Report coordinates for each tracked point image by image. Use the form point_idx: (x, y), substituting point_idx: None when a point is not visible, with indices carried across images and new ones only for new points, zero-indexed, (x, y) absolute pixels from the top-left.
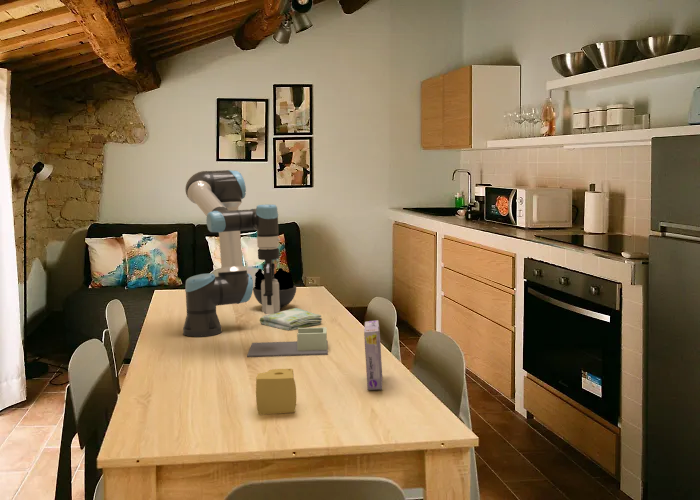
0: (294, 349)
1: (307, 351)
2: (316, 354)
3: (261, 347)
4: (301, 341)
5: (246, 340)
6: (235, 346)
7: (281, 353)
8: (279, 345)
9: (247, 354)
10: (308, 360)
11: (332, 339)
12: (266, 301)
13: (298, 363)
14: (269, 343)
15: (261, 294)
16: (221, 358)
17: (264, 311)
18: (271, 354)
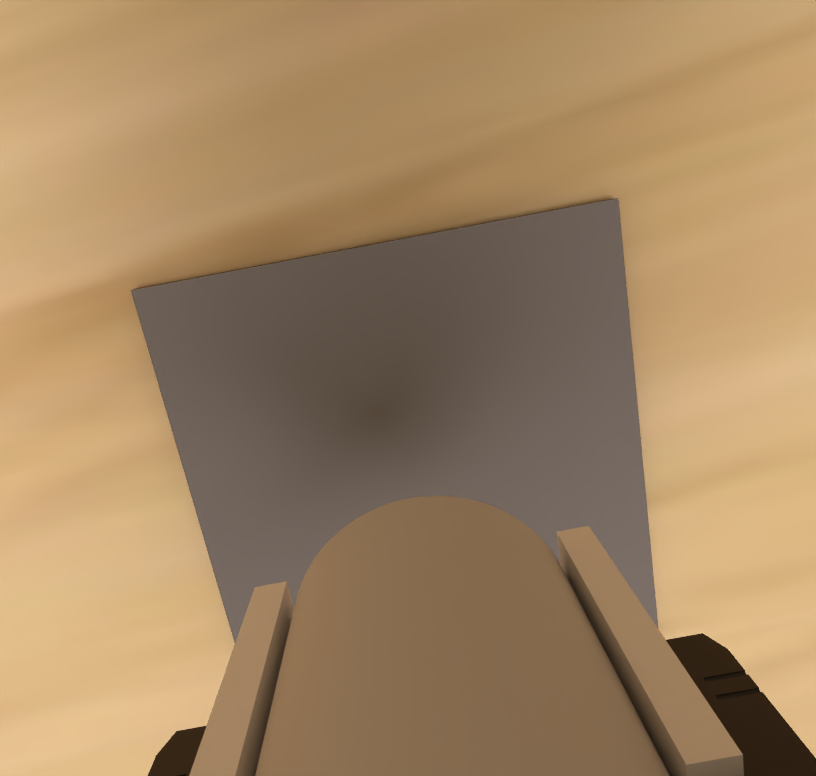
0: None
1: None
2: None
3: (432, 334)
4: None
5: (782, 91)
6: (533, 52)
7: (238, 544)
8: (508, 464)
9: (169, 283)
10: (121, 738)
11: None
12: (205, 757)
13: (27, 697)
14: (584, 364)
15: (364, 723)
16: (58, 61)
17: (310, 566)
18: (196, 479)
